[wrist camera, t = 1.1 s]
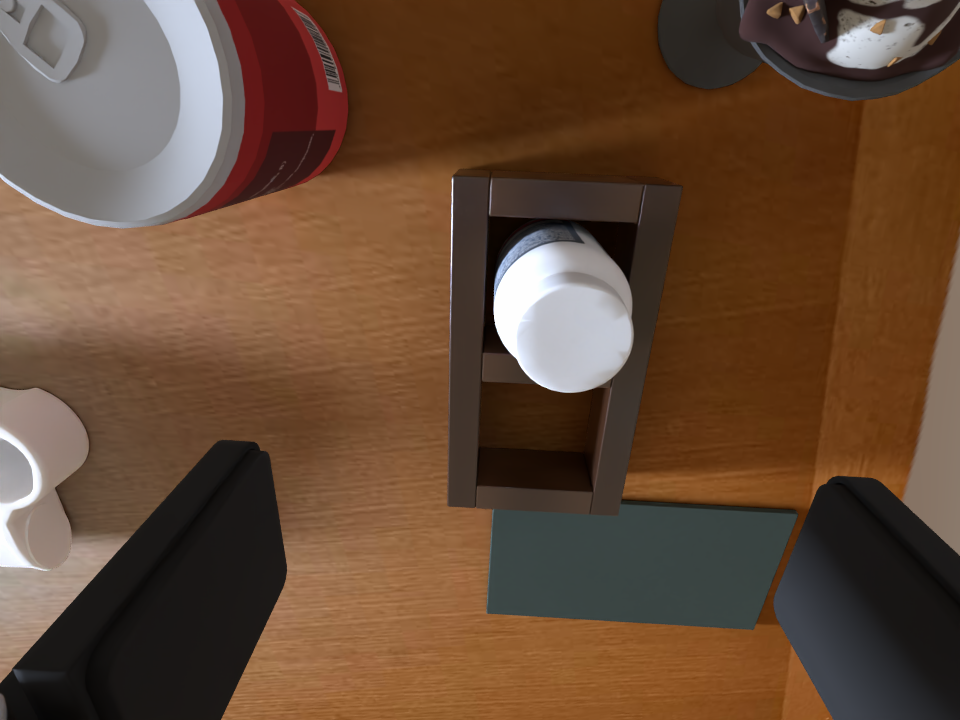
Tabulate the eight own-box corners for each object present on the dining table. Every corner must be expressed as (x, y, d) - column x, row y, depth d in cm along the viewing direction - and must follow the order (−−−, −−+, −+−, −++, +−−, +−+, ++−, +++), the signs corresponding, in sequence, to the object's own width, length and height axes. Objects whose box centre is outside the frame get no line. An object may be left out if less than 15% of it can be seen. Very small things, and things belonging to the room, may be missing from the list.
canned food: (196, -60, 20) (-115, -250, 10) (383, 51, 21) (277, -17, 11) (153, 130, 23) (-120, 133, 13) (319, 217, 24) (190, 281, 14)
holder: (658, 177, 23) (683, 185, 20) (606, 475, 30) (618, 516, 27) (458, 168, 23) (451, 175, 20) (453, 466, 30) (447, 507, 27)
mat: (795, 509, 30) (799, 514, 30) (751, 624, 34) (753, 630, 34) (493, 492, 31) (493, 497, 30) (486, 608, 35) (486, 613, 34)
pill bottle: (475, 289, 25) (463, 366, 17) (530, 194, 23) (545, 230, 15) (565, 338, 26) (593, 432, 18) (625, 250, 24) (686, 312, 16)
